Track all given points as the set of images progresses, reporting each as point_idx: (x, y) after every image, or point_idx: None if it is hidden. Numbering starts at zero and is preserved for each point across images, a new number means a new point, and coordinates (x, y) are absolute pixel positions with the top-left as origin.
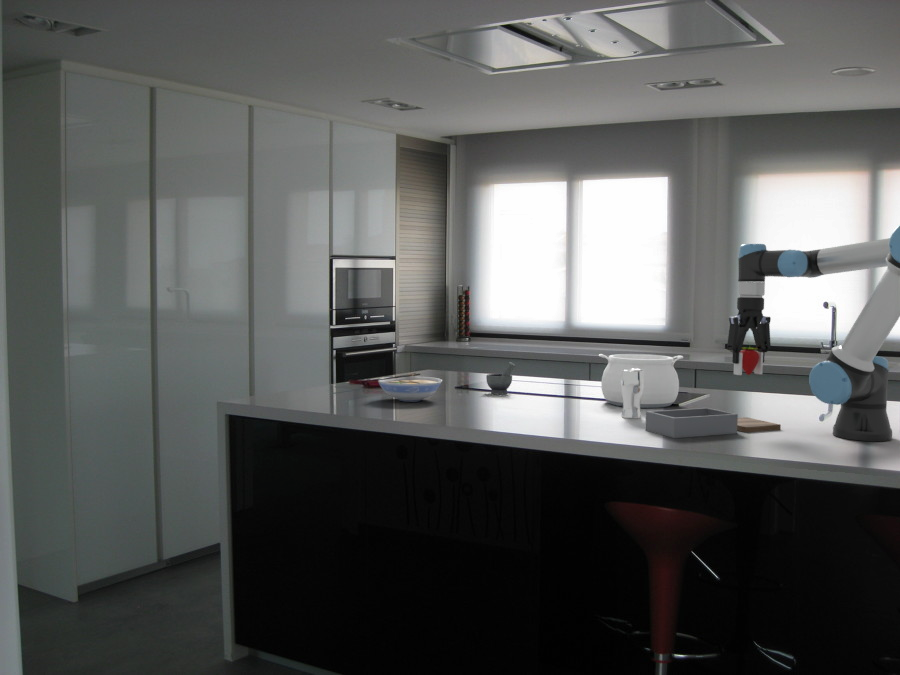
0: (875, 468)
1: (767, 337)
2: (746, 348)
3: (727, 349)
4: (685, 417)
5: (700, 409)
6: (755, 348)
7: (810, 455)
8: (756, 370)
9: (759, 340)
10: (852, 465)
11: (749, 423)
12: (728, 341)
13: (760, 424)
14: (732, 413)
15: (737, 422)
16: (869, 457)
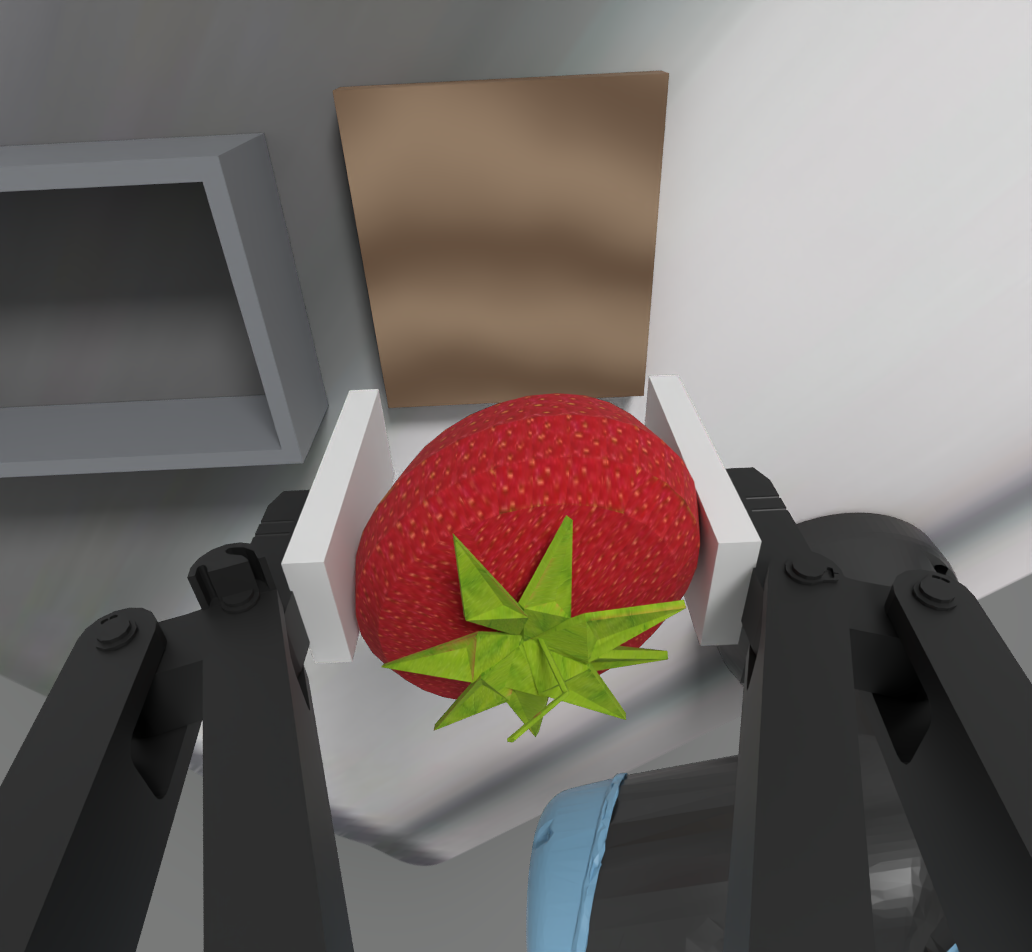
0: (420, 847)
1: (940, 875)
2: (461, 670)
3: (103, 622)
4: None
5: (137, 184)
6: (599, 702)
7: (358, 746)
8: (652, 430)
9: (736, 811)
10: (387, 825)
11: (493, 312)
12: (32, 759)
13: (534, 360)
14: (283, 435)
15: (440, 259)
16: (513, 787)
